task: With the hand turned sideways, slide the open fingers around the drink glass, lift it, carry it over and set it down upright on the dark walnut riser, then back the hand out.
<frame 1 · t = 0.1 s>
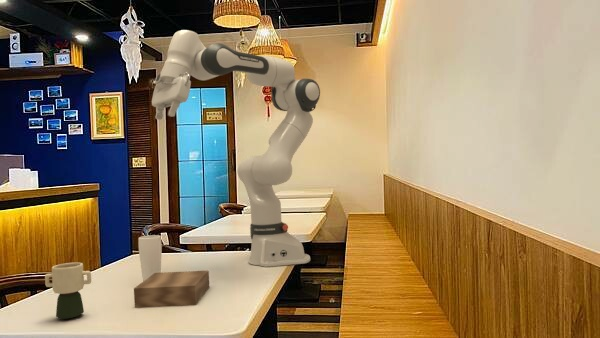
hand: (164, 117, 155), 52 cm above the table, tool tilted 20°, fingers open, 8 cm apart
character mug: (70, 318, 122), on the table
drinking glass: (152, 285, 151), on the table
walnut riser dock: (174, 296, 136), on the table
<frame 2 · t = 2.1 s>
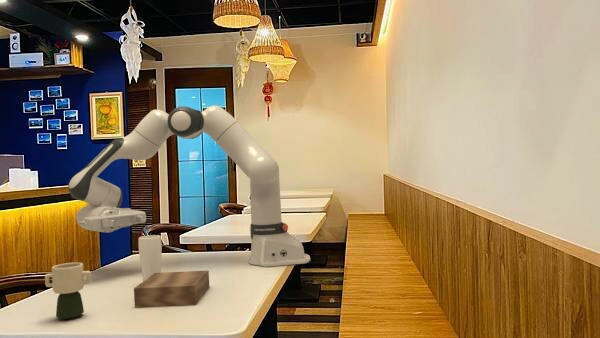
hand: (127, 221, 159), 19 cm above the table, tool horizontal, fingers open, 8 cm apart
nothing on the table moved.
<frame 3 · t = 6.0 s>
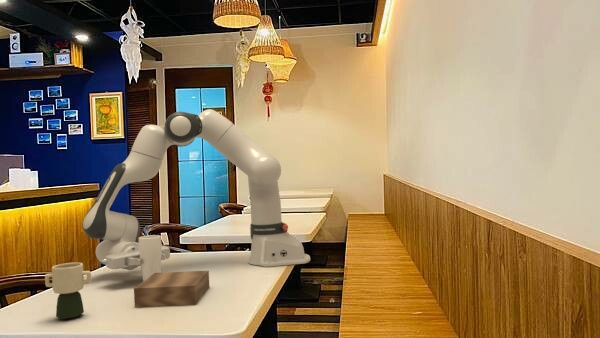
hand: (152, 259, 151), 8 cm above the table, tool horizontal, fingers closed on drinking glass, 6 cm apart
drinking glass: (152, 285, 151), on the table, touching gripper
everything else where it was.
when the fingers open (14 cm above the table, at t = 11.3 s): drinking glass moves 2 cm, resting on walnut riser dock.
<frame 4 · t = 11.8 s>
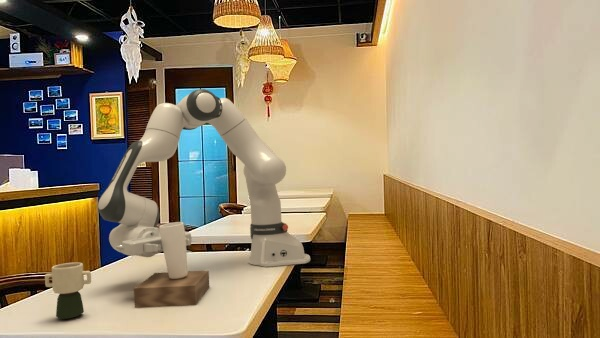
hand: (173, 245, 136), 14 cm above the table, tool horizontal, fingers open, 8 cm apart
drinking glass: (178, 277, 137), point 5 cm above the table, touching gripper, walnut riser dock
everything else where it was.
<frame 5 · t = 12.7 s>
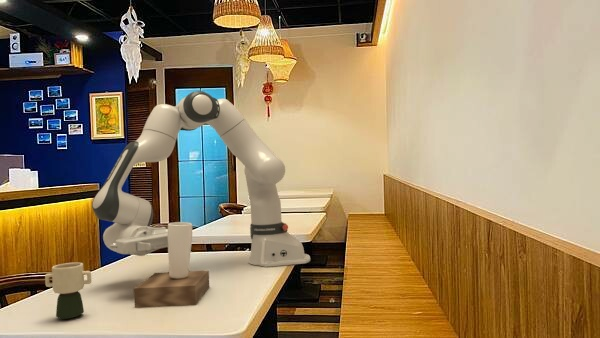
hand: (166, 243, 138), 15 cm above the table, tool horizontal, fingers open, 8 cm apart
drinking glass: (178, 277, 137), point 5 cm above the table, touching walnut riser dock
everything else where it was.
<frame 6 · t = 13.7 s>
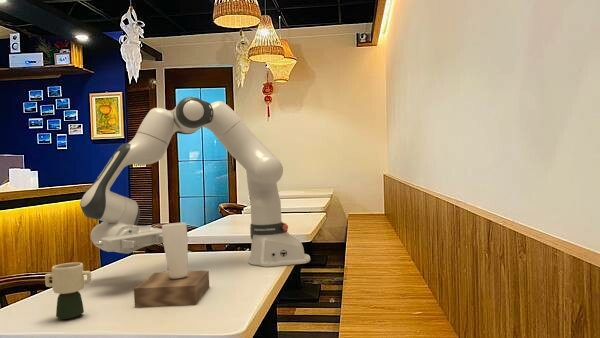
hand: (150, 241, 143), 15 cm above the table, tool horizontal, fingers open, 8 cm apart
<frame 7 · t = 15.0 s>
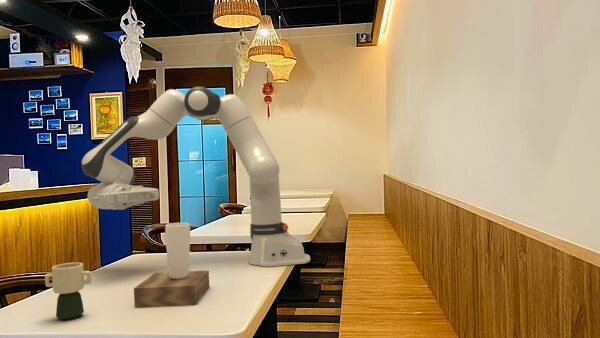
hand: (141, 196, 158), 27 cm above the table, tool horizontal, fingers open, 8 cm apart
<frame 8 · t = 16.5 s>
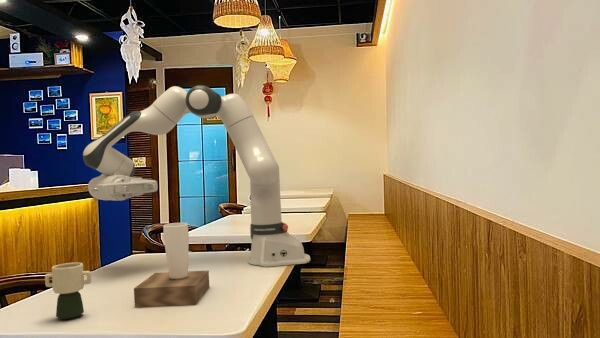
hand: (140, 187, 161), 30 cm above the table, tool horizontal, fingers open, 8 cm apart
nothing on the table moved.
at the end: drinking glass inside the target area on the walnut riser dock (1.6 cm from its centre), point 4.9 cm above the walnut riser dock's base; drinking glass tilted 2°; the gripper is holding nothing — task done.
